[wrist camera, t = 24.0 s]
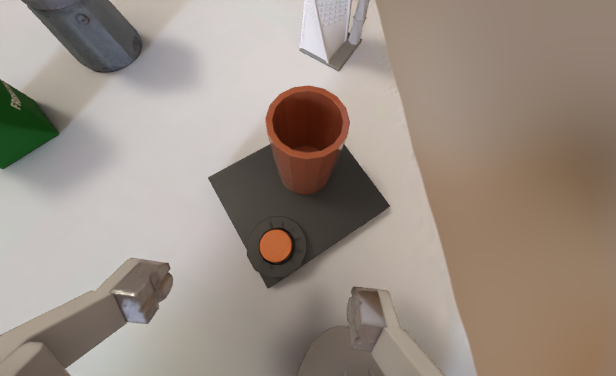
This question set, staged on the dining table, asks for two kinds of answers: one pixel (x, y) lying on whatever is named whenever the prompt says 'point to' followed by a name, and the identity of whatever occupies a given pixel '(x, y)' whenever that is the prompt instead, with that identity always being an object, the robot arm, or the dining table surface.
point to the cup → (306, 136)
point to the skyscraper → (331, 30)
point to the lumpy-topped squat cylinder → (337, 357)
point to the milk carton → (20, 125)
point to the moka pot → (90, 31)
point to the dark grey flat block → (294, 208)
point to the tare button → (275, 245)
